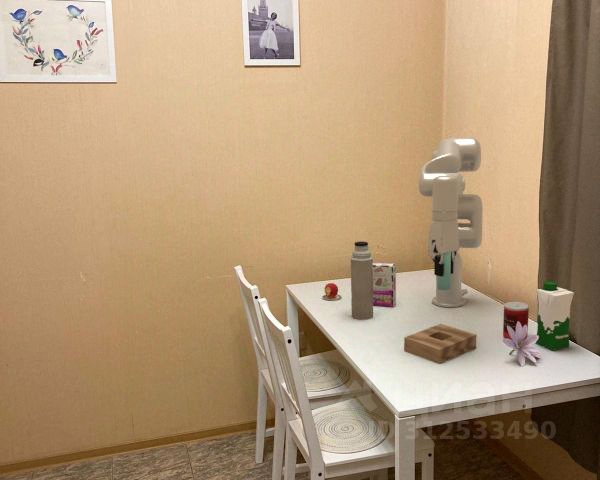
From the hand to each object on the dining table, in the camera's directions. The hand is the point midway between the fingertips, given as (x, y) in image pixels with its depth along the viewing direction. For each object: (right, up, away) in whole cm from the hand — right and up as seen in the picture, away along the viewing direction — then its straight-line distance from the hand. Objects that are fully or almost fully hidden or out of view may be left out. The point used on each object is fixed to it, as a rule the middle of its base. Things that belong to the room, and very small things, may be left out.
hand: (443, 273), depth 194 cm
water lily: (+22, -26, -7) cm, 35 cm away
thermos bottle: (-22, -18, +37) cm, 46 cm away
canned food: (+26, -22, +11) cm, 36 cm away
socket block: (0, -24, +3) cm, 24 cm away
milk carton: (+35, -23, +3) cm, 42 cm away
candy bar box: (-13, -15, +50) cm, 53 cm away
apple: (-32, -13, +60) cm, 69 cm away
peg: (0, -5, +1) cm, 5 cm away
